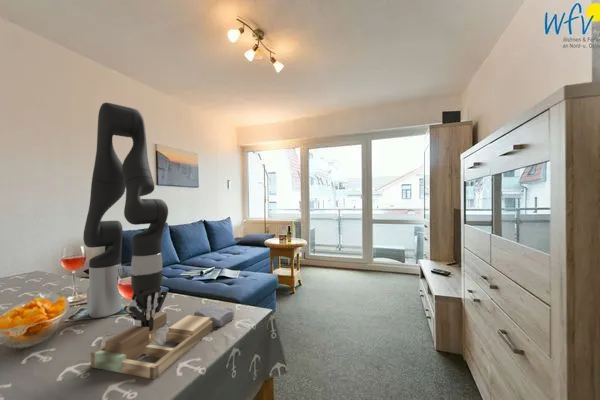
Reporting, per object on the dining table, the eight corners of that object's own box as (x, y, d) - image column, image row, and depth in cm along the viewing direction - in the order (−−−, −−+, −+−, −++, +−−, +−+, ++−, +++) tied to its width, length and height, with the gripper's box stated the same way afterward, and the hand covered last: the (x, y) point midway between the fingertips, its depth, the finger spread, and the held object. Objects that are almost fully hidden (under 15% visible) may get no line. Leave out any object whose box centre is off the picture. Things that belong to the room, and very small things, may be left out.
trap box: (90, 367, 61) (90, 352, 61) (163, 322, 83) (163, 312, 83) (154, 379, 56) (154, 363, 57) (212, 329, 79) (212, 317, 79)
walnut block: (105, 365, 61) (105, 340, 61) (133, 347, 69) (133, 325, 69) (122, 368, 60) (122, 343, 60) (149, 349, 68) (149, 327, 68)
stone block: (212, 316, 92) (190, 321, 84) (214, 302, 93) (192, 306, 85) (237, 324, 87) (216, 331, 78) (239, 309, 88) (219, 314, 79)
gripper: (154, 263, 78) (154, 319, 78) (114, 275, 65) (114, 343, 65) (175, 264, 76) (175, 322, 76) (137, 277, 63) (138, 346, 63)
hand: (147, 331), depth 71 cm, fingers closed
